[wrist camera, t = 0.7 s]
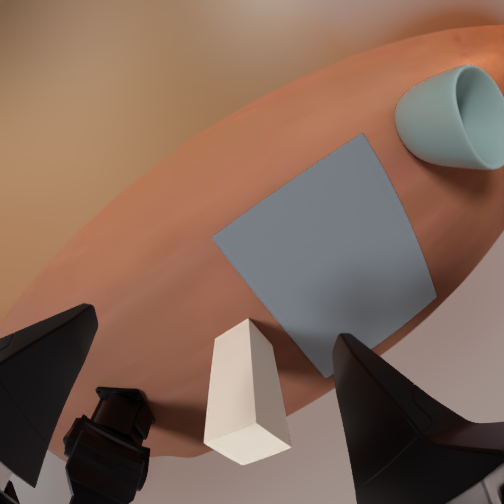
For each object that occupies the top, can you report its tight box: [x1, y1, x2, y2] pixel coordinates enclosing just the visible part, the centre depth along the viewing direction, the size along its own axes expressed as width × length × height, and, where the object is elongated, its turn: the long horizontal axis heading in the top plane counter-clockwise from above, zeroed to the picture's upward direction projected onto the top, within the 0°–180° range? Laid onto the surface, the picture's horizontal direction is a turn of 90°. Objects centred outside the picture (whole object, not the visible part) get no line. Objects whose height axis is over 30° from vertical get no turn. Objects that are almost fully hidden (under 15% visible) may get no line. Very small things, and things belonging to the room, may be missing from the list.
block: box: [204, 318, 292, 465], centre depth 20 cm, size 4×4×12 cm
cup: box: [394, 65, 504, 170], centre depth 16 cm, size 8×8×10 cm
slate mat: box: [212, 133, 437, 379], centre depth 24 cm, size 16×20×1 cm
